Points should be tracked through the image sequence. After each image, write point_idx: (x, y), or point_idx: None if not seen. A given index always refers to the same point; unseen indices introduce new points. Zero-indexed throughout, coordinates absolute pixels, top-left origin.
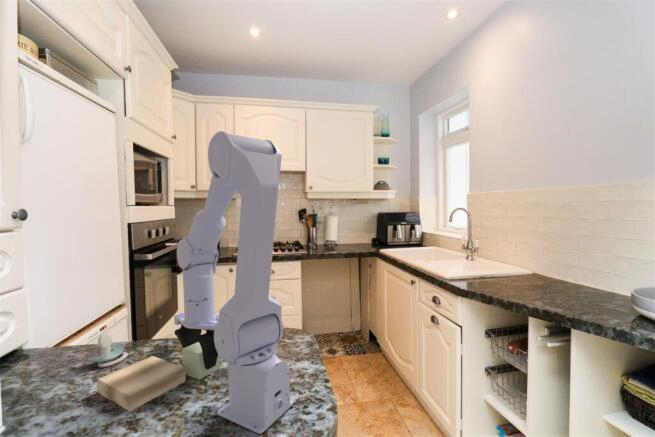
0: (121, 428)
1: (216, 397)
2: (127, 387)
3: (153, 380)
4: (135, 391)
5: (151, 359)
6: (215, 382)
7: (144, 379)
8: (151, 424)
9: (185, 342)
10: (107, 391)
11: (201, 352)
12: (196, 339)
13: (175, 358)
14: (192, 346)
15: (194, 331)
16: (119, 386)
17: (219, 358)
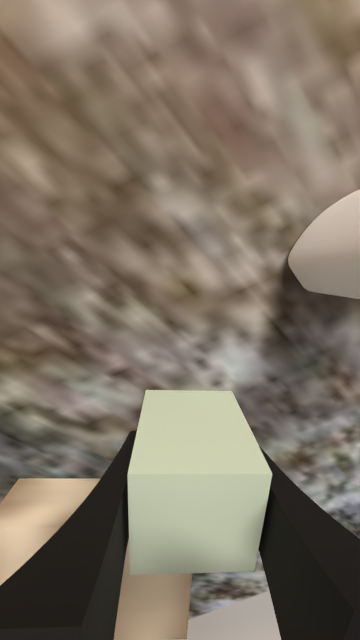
0: (221, 602)
1: (331, 486)
2: (141, 629)
3: (172, 593)
4: (182, 628)
5: (14, 542)
6: (280, 448)
7: (142, 601)
8: (265, 579)
9: (117, 596)
10: None
11: (255, 558)
12: (117, 529)
13: (13, 414)
14: (151, 542)
15: (99, 635)
16: (115, 635)
17: (243, 416)
